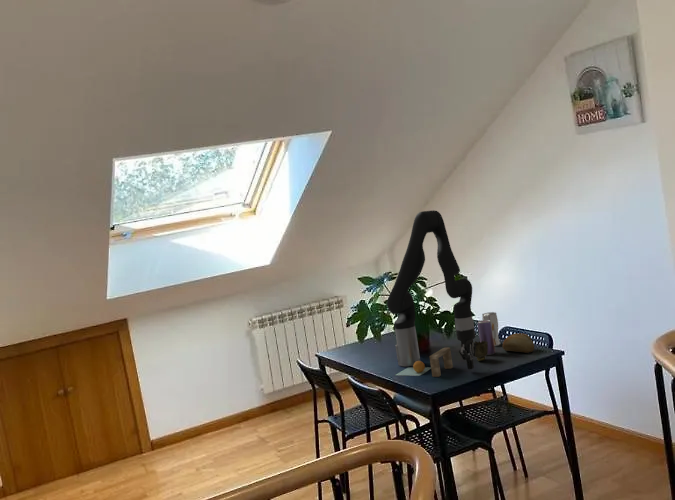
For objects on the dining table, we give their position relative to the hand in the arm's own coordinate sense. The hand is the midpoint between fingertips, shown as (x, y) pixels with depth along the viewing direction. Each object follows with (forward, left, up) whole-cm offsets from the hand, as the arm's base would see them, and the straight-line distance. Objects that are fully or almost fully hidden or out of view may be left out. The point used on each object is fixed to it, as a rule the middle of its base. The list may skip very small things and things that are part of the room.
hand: (470, 368), depth 301 cm
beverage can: (-4, +29, -2) cm, 29 cm away
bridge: (-13, 0, -2) cm, 13 cm away
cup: (-3, +18, -2) cm, 18 cm away
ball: (-24, -1, +1) cm, 24 cm away
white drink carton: (-8, +45, -2) cm, 46 cm away
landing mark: (-27, 0, -2) cm, 27 cm away
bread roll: (+9, +33, -2) cm, 34 cm away
